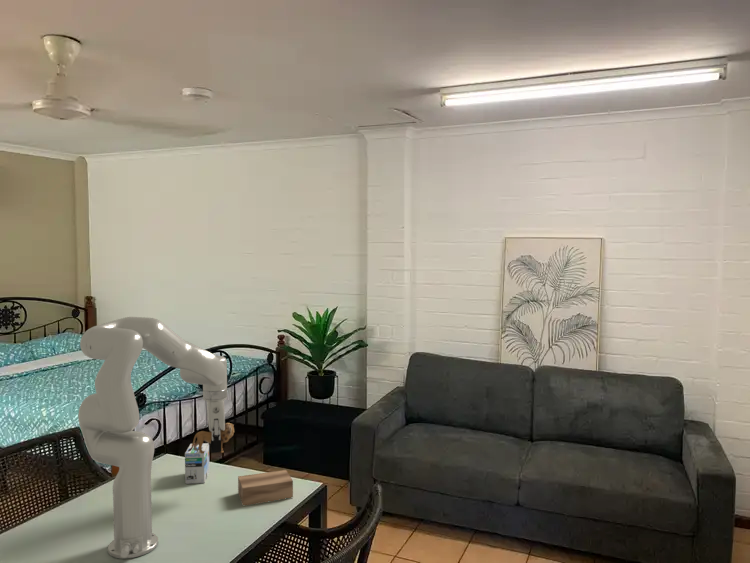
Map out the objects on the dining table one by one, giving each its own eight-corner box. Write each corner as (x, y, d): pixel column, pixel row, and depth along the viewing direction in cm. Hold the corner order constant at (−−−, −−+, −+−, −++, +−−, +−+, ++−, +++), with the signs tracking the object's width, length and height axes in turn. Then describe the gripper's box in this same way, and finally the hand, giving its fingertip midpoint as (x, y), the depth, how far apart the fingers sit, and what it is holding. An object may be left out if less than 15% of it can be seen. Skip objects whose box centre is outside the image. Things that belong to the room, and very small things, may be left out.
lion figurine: (234, 447, 196) (234, 420, 196) (234, 452, 191) (234, 424, 191) (188, 450, 193) (187, 423, 192) (187, 455, 188) (186, 428, 187)
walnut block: (292, 499, 190) (292, 480, 190) (242, 506, 185) (242, 488, 184) (286, 487, 200) (286, 469, 199) (238, 494, 194) (238, 476, 194)
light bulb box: (204, 483, 202) (204, 452, 201) (184, 484, 201) (184, 453, 201) (209, 471, 213) (209, 442, 212) (190, 472, 212) (190, 443, 211)
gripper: (228, 399, 184) (229, 457, 185) (225, 387, 200) (225, 440, 201) (203, 401, 182) (204, 459, 183) (202, 389, 198) (202, 442, 199)
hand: (215, 449), depth 192 cm, fingers closed on lion figurine, 4 cm apart
